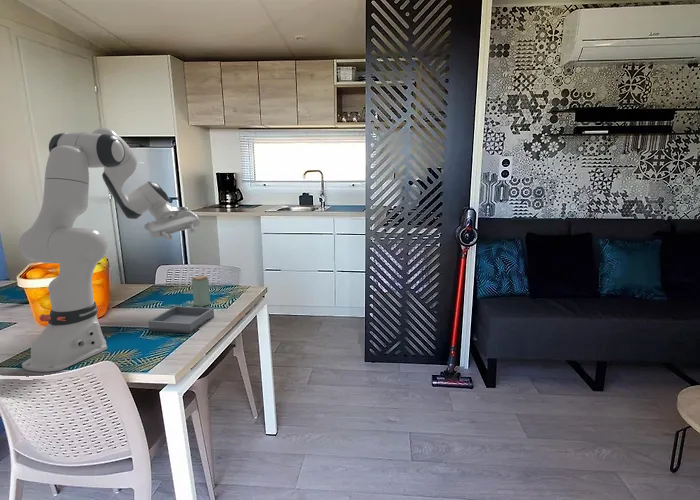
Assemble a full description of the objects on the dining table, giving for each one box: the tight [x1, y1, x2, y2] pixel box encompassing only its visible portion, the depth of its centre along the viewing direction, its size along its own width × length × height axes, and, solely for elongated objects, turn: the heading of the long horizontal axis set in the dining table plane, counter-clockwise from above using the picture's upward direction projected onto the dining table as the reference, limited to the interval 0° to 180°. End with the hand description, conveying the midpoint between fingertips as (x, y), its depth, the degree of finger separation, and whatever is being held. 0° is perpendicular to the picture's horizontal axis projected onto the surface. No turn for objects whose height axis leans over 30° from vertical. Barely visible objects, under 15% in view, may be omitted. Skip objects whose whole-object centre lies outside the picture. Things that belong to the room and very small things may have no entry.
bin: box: [147, 305, 215, 334], centre depth 147 cm, size 16×16×4 cm
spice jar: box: [191, 274, 211, 308], centre depth 166 cm, size 5×5×12 cm
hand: (181, 234), depth 164 cm, fingers open, 8 cm apart
